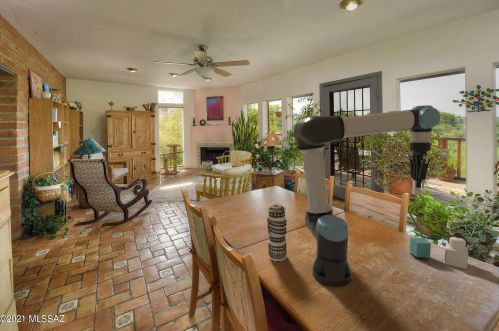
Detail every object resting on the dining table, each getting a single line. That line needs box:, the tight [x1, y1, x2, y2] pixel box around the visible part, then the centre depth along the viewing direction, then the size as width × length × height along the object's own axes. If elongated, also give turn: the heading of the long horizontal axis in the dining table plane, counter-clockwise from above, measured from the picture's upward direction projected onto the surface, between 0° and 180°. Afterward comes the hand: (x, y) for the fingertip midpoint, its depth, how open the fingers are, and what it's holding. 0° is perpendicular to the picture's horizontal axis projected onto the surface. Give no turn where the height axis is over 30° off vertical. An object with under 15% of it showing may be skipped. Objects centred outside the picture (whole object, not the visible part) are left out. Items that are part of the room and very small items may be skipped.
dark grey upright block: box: [409, 252, 429, 261], centre depth 110 cm, size 5×5×7 cm
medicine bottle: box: [444, 234, 469, 270], centre depth 103 cm, size 7×7×12 cm
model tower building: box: [266, 203, 288, 262], centre depth 113 cm, size 9×9×25 cm
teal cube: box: [409, 237, 432, 259], centre depth 110 cm, size 6×6×7 cm
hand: (416, 194), depth 110 cm, fingers closed
